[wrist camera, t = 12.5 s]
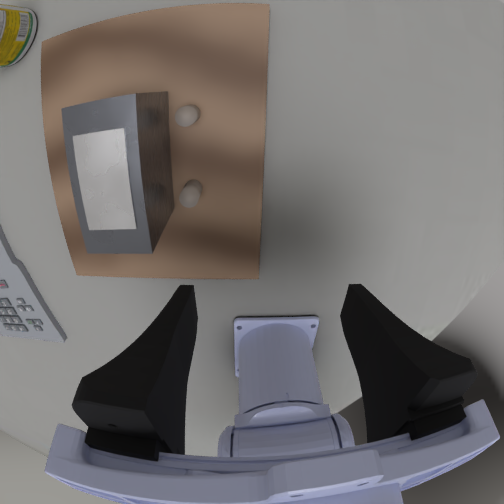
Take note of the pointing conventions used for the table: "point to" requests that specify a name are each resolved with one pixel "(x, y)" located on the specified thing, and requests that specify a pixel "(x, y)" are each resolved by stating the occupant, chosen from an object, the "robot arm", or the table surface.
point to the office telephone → (23, 302)
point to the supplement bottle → (15, 33)
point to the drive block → (120, 171)
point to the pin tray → (175, 129)
